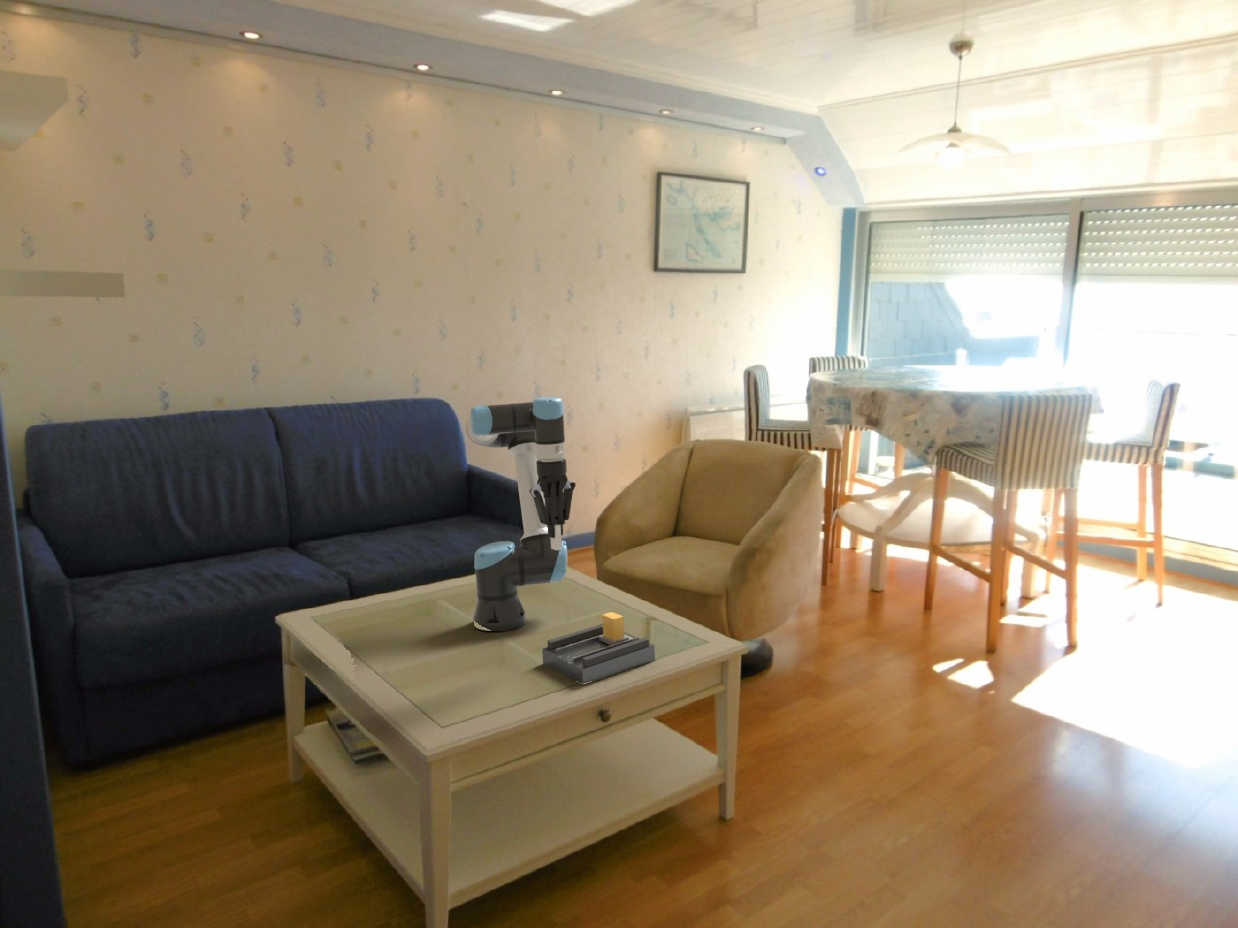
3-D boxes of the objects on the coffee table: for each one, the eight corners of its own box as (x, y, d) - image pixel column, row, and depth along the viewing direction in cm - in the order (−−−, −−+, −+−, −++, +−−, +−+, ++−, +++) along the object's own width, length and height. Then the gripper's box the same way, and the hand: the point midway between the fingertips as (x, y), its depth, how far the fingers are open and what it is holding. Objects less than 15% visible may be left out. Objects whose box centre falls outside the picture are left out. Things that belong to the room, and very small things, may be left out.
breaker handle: (599, 639, 225) (597, 615, 224) (614, 634, 228) (613, 610, 227) (613, 646, 220) (611, 620, 219) (628, 641, 223) (627, 615, 222)
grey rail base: (543, 663, 223) (541, 644, 222) (612, 641, 235) (611, 623, 235) (583, 685, 208) (582, 665, 207) (655, 660, 221) (654, 641, 220)
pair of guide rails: (547, 647, 223) (547, 640, 222) (608, 628, 234) (607, 622, 233) (586, 667, 209) (586, 660, 208) (649, 646, 220) (648, 639, 220)
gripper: (537, 464, 214) (543, 557, 219) (580, 456, 222) (585, 546, 227) (521, 461, 220) (527, 551, 225) (563, 453, 228) (568, 540, 232)
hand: (556, 548), depth 226 cm, fingers closed
